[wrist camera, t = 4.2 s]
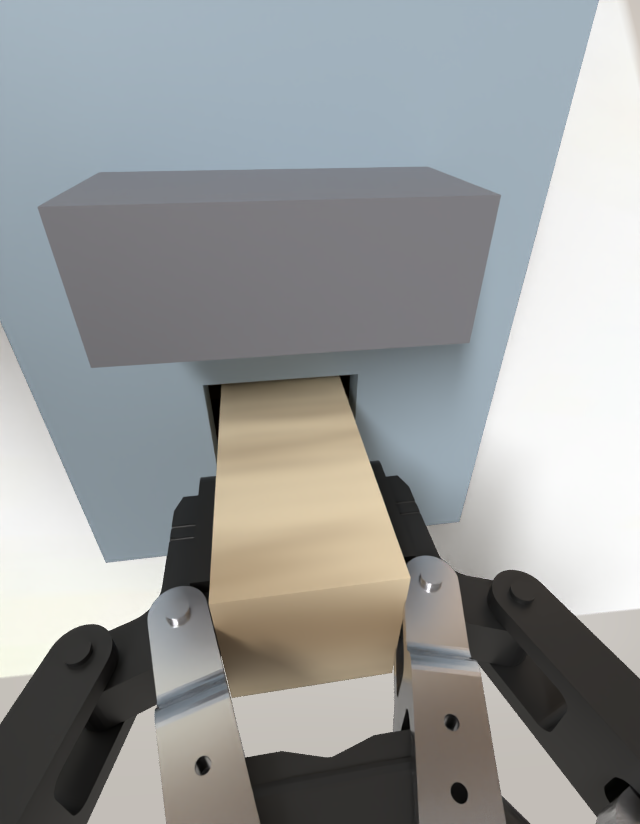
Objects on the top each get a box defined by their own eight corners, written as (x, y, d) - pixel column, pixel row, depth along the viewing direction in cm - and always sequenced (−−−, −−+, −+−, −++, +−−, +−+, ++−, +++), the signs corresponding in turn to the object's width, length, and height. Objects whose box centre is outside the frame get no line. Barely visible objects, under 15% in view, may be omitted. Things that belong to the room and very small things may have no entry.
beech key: (226, 296, 21) (208, 604, 9) (309, 292, 22) (410, 578, 9) (235, 369, 24) (232, 697, 11) (310, 364, 24) (391, 673, 11)
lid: (-350, -608, 6) (-1807, -2337, 2) (675, -444, 8) (1205, -1097, 3) (112, 538, 19) (76, 664, 15) (449, 501, 21) (501, 604, 17)
